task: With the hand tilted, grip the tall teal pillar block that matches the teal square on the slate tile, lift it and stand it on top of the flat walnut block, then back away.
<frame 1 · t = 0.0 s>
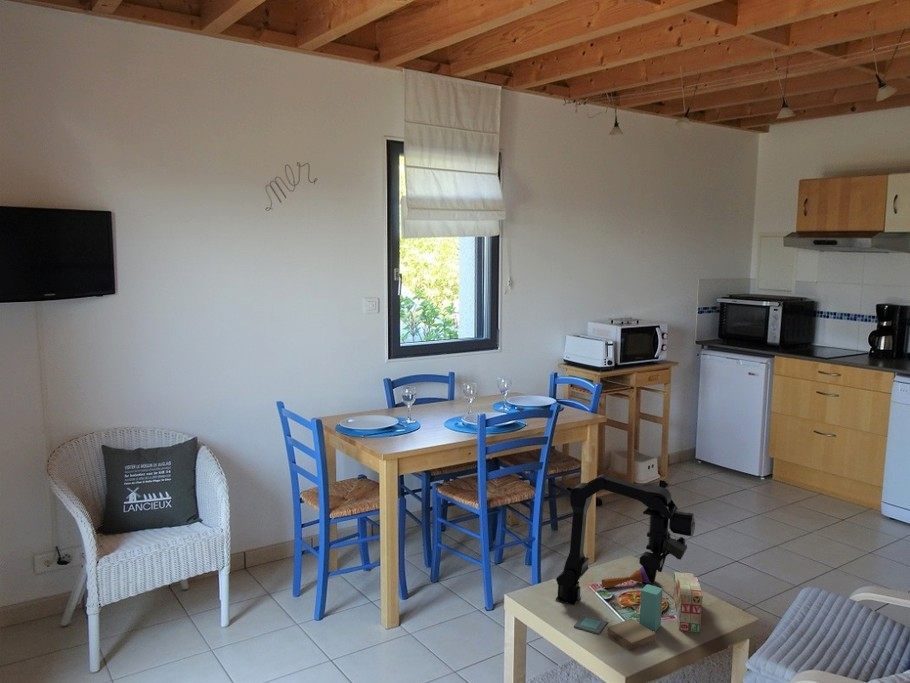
hand: (656, 577, 224), 15 cm above the table, tool pointing down, fingers open, 9 cm apart
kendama: (629, 585, 251), on the table
stack of blocks: (685, 615, 231), on the table
teal pillar: (650, 626, 224), on the table
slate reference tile: (590, 625, 224), on the table
walnut slab: (631, 639, 217), on the table
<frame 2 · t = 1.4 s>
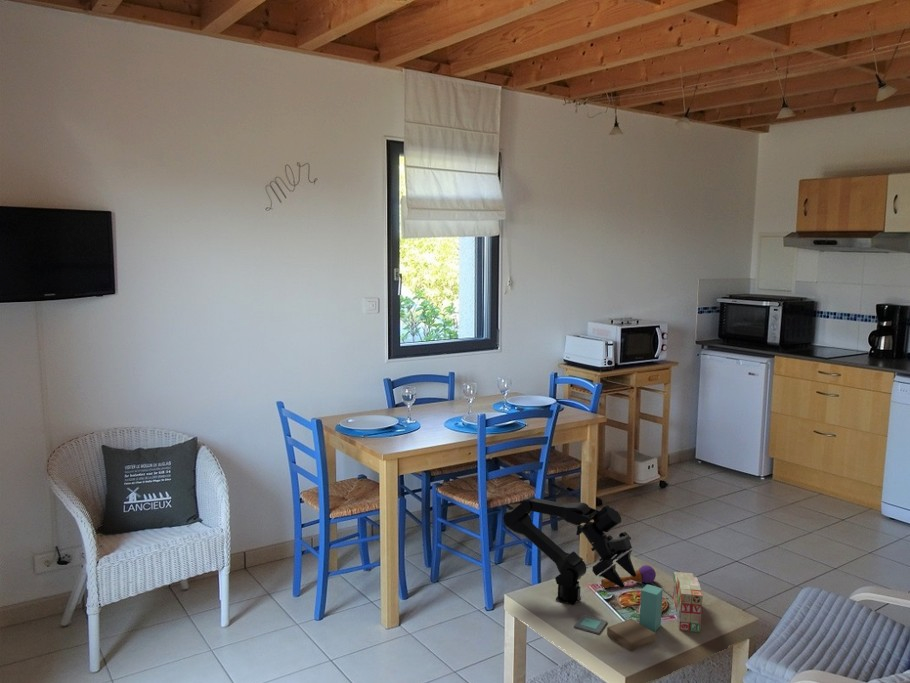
hand: (629, 581, 226), 12 cm above the table, tool tilted 45°, fingers open, 9 cm apart
nothing on the table moved.
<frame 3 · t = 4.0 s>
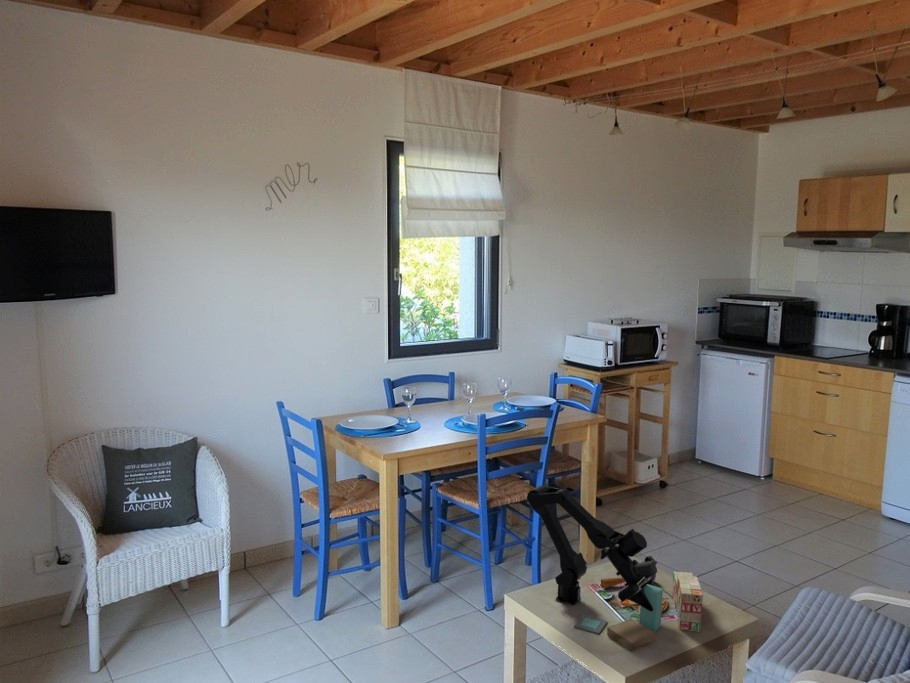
hand: (655, 607, 222), 7 cm above the table, tool tilted 45°, fingers closed on teal pillar, 5 cm apart
teal pillar: (650, 626, 224), on the table, touching gripper
everything else where it was.
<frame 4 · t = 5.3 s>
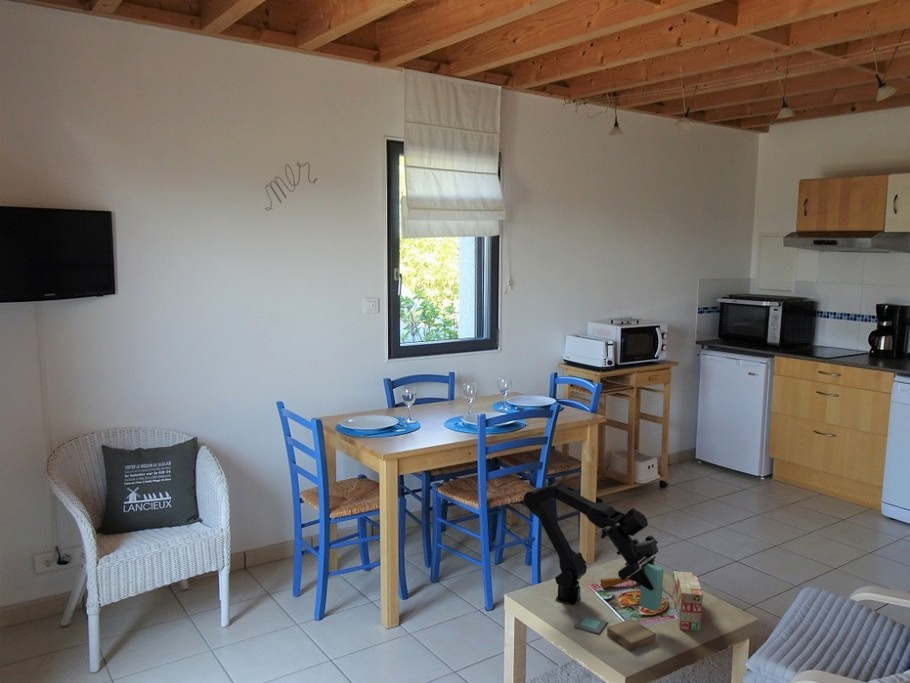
hand: (656, 586, 221), 13 cm above the table, tool tilted 45°, fingers closed on teal pillar, 5 cm apart
teal pillar: (650, 605, 222), point 7 cm above the table, touching gripper
everything else where it was.
when the fingers open (11 cm above the table, at t = 7.0 s): teal pillar drops 2 cm, resting on walnut slab.
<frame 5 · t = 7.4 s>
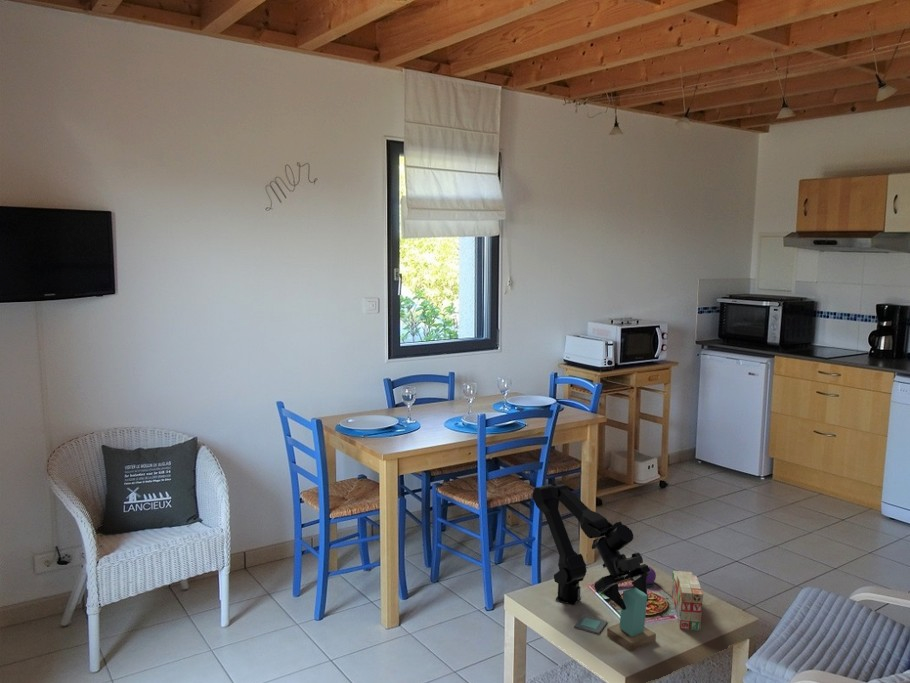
hand: (636, 605, 214), 11 cm above the table, tool tilted 45°, fingers open, 9 cm apart
teal pillar: (631, 630, 216), point 3 cm above the table, touching walnut slab
walnut slab: (631, 640, 217), on the table, touching teal pillar
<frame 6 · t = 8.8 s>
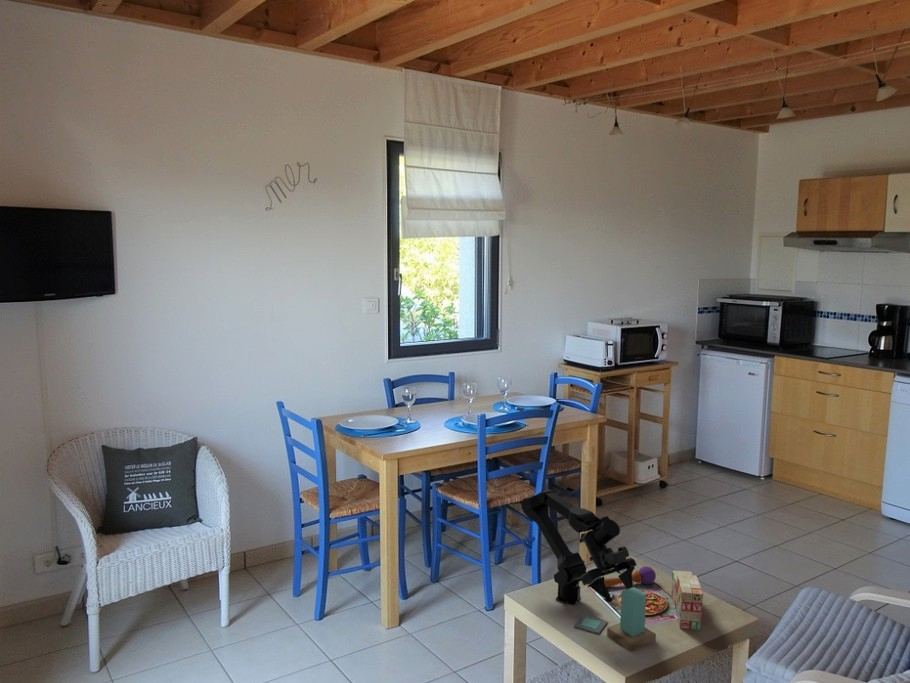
hand: (622, 598, 219), 11 cm above the table, tool tilted 45°, fingers open, 9 cm apart
teal pillar: (632, 630, 216), point 2 cm above the table
walnut slab: (631, 640, 217), on the table
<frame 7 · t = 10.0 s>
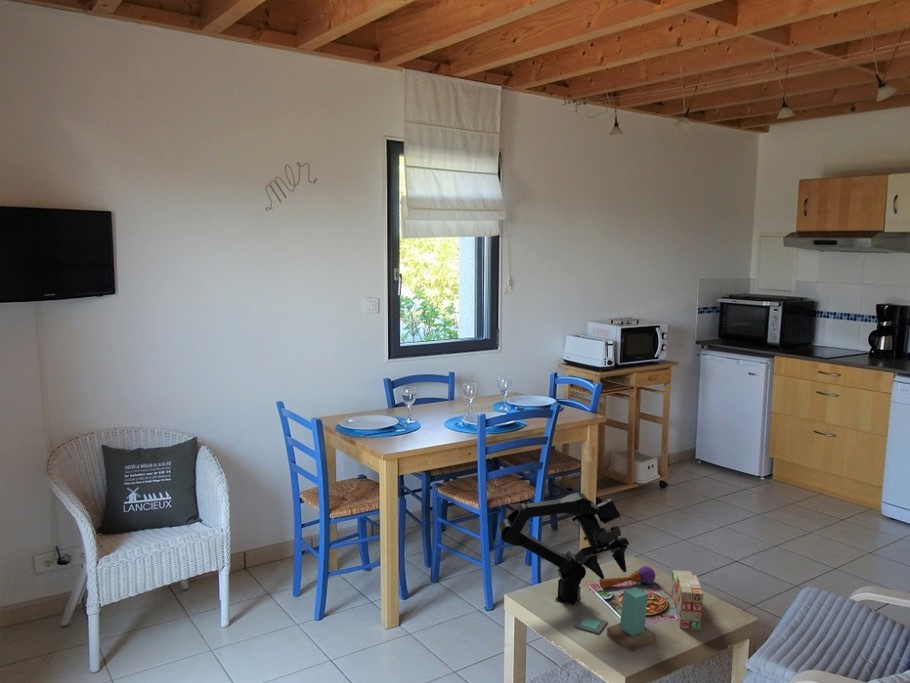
hand: (614, 575, 227), 14 cm above the table, tool tilted 45°, fingers open, 9 cm apart
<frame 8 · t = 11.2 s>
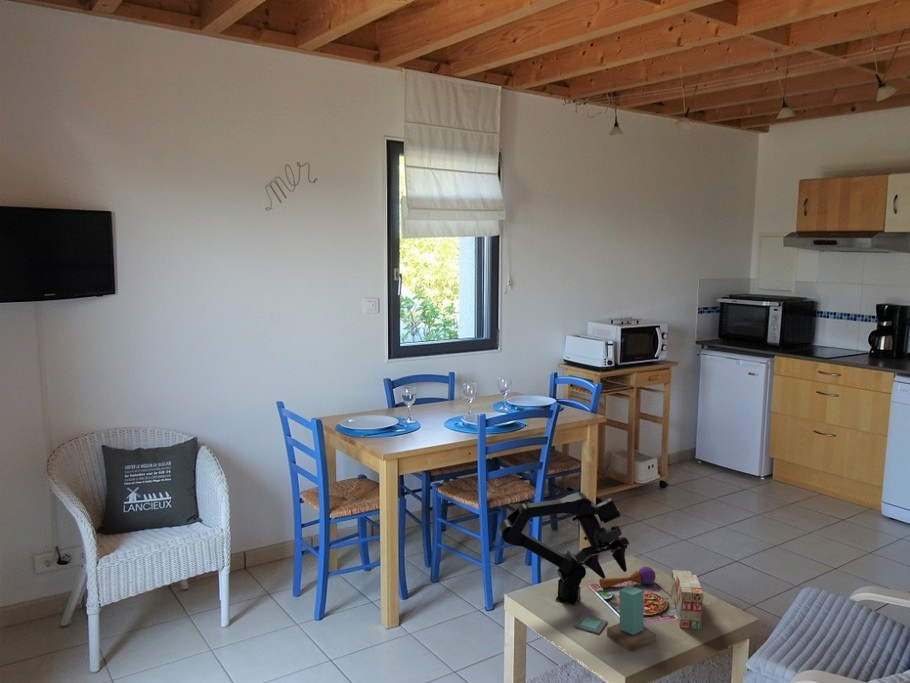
hand: (615, 574, 228), 14 cm above the table, tool tilted 45°, fingers open, 9 cm apart
at the end: teal pillar 0.0 cm off-centre on the walnut slab, point 3.2 cm above the walnut slab's base; teal pillar tilted 4°; the gripper is holding nothing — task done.
